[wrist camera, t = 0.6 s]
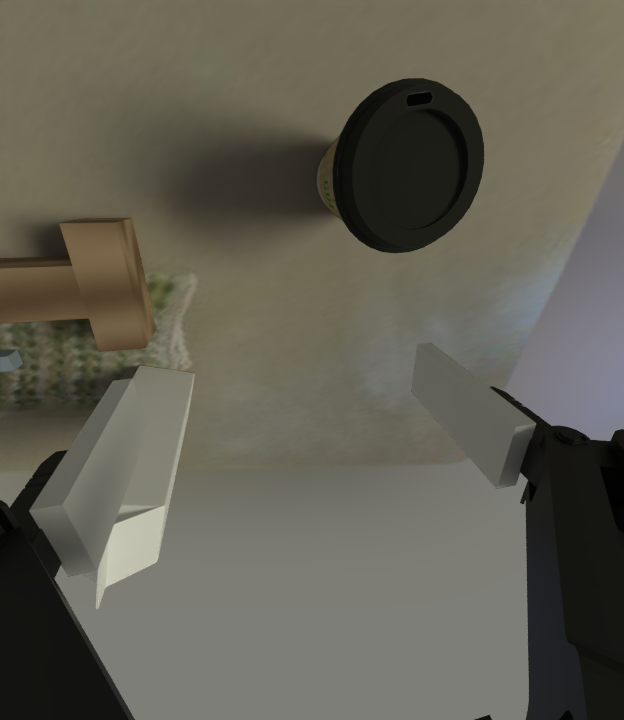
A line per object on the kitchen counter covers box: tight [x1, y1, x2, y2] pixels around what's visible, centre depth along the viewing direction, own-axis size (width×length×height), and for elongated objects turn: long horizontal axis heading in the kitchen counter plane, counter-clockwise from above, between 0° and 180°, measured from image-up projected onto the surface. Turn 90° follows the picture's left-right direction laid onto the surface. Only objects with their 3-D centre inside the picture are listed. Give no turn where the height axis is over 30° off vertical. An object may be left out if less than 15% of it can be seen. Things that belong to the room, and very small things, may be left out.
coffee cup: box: [317, 78, 484, 253], centre depth 27 cm, size 10×10×15 cm
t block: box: [0, 218, 156, 352], centre depth 30 cm, size 11×12×5 cm
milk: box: [83, 365, 195, 609], centre depth 30 cm, size 6×6×22 cm
